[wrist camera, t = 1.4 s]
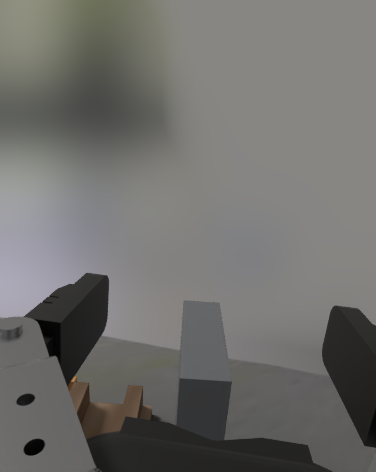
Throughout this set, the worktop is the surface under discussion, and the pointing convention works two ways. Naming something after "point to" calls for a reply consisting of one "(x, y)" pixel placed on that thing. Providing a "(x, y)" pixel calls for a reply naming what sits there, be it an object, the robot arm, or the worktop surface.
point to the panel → (203, 372)
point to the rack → (106, 409)
